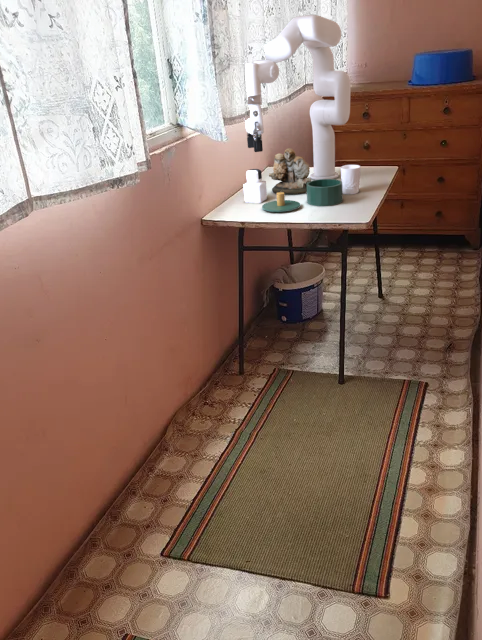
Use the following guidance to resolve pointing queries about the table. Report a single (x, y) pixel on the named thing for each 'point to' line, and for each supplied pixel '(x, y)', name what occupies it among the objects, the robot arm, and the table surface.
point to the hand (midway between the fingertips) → (255, 149)
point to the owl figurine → (290, 173)
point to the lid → (281, 204)
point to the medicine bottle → (254, 187)
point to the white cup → (350, 179)
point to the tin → (324, 192)
